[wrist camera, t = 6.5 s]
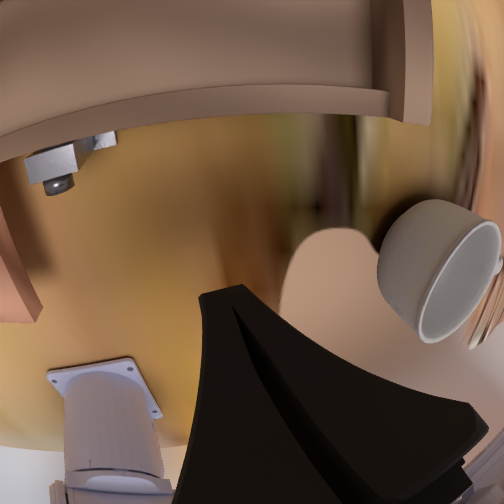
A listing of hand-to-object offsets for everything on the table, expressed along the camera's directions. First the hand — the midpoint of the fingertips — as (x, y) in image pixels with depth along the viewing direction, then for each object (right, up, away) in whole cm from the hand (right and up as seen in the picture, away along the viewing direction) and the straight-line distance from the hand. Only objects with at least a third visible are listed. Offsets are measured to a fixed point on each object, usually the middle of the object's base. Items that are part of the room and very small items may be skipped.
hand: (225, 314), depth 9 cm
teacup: (+16, +3, +17) cm, 23 cm away
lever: (-4, +6, 0) cm, 7 cm away
